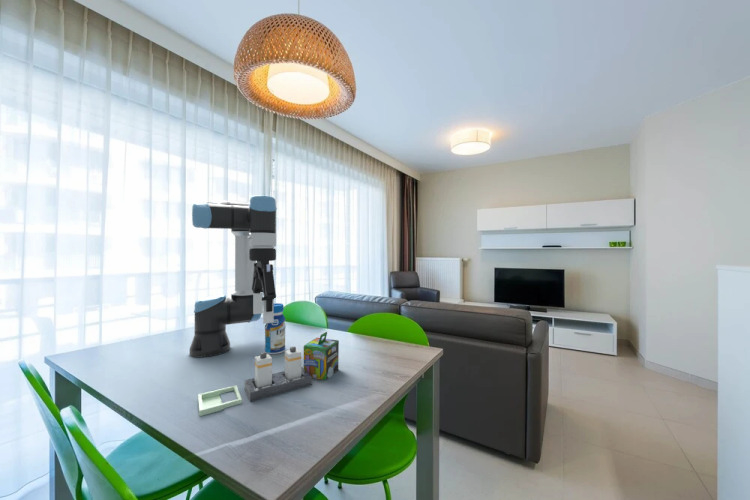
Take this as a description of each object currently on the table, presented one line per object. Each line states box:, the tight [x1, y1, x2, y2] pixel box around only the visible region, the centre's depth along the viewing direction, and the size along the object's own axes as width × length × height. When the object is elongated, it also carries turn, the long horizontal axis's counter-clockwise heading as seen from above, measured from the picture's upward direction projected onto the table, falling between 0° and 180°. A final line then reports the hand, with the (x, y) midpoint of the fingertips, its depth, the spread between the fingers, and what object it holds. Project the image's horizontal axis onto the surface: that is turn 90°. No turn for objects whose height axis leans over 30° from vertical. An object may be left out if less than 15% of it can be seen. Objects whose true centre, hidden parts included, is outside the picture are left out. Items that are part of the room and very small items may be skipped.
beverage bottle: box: [264, 302, 286, 355], centre depth 122 cm, size 8×8×20 cm
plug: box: [254, 351, 273, 388], centre depth 86 cm, size 4×4×11 cm
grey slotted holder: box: [243, 366, 313, 402], centre depth 88 cm, size 9×18×4 cm, turn 124°
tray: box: [197, 384, 243, 417], centre depth 80 cm, size 10×10×2 cm
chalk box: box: [303, 331, 340, 381], centre depth 98 cm, size 9×9×15 cm
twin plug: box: [284, 346, 302, 380], centre depth 91 cm, size 4×4×11 cm
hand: (262, 318), depth 86 cm, fingers open, 13 cm apart
